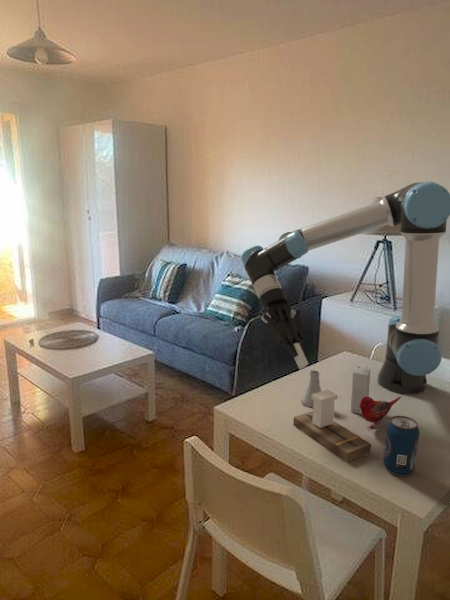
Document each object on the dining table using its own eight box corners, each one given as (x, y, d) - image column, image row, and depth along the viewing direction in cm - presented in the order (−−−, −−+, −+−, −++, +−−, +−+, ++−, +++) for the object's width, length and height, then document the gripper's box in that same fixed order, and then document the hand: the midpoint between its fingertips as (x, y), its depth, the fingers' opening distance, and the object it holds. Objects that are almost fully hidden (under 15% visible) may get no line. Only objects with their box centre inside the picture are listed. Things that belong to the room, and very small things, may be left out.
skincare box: (365, 415, 131) (369, 375, 128) (349, 412, 133) (352, 373, 130) (368, 406, 136) (372, 368, 133) (353, 403, 138) (356, 365, 135)
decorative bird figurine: (352, 431, 122) (355, 397, 120) (394, 414, 132) (398, 382, 129) (360, 436, 120) (364, 401, 117) (403, 418, 129) (407, 385, 127)
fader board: (293, 425, 125) (293, 416, 124) (315, 418, 129) (316, 409, 128) (346, 462, 108) (347, 452, 108) (370, 453, 112) (371, 443, 112)
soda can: (382, 457, 110) (386, 412, 107) (413, 463, 108) (418, 416, 105) (383, 474, 104) (388, 426, 101) (416, 480, 102) (422, 431, 99)
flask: (325, 409, 134) (327, 377, 132) (300, 407, 135) (301, 375, 133) (324, 398, 141) (327, 368, 139) (301, 396, 142) (302, 366, 140)
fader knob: (309, 422, 120) (311, 394, 119) (325, 417, 123) (327, 389, 121) (319, 428, 117) (321, 399, 116) (335, 423, 120) (337, 394, 118)
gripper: (282, 298, 140) (315, 368, 130) (246, 303, 134) (278, 376, 124) (294, 284, 134) (329, 356, 124) (257, 288, 128) (291, 364, 118)
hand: (303, 366), depth 124 cm, fingers closed
